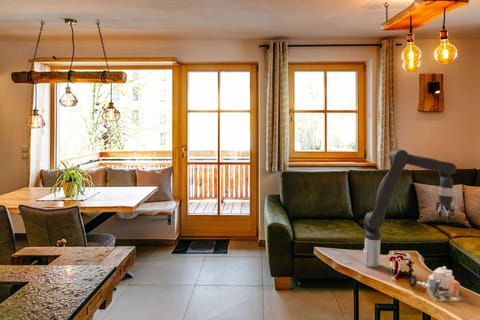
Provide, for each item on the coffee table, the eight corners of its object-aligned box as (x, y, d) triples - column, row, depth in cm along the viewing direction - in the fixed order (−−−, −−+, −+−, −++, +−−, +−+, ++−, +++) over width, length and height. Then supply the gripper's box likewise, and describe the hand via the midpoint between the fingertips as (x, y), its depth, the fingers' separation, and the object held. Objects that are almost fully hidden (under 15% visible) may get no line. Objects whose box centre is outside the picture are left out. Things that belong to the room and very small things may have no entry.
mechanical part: (438, 282, 206) (439, 261, 205) (457, 291, 195) (459, 269, 194) (423, 285, 202) (424, 264, 201) (442, 294, 191) (443, 272, 190)
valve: (436, 292, 193) (414, 285, 202) (437, 280, 193) (414, 273, 202) (431, 296, 189) (408, 288, 198) (432, 283, 188) (409, 276, 197)
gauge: (436, 301, 183) (437, 285, 182) (429, 295, 190) (429, 279, 189) (463, 301, 184) (464, 284, 183) (455, 295, 190) (456, 279, 189)
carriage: (454, 297, 184) (455, 283, 184) (448, 292, 190) (449, 279, 189) (460, 297, 185) (461, 283, 184) (453, 292, 190) (454, 279, 189)
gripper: (433, 192, 234) (431, 217, 235) (447, 196, 220) (445, 223, 221) (444, 192, 235) (442, 217, 236) (459, 196, 220) (457, 223, 222)
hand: (444, 220), depth 229 cm, fingers open, 8 cm apart
